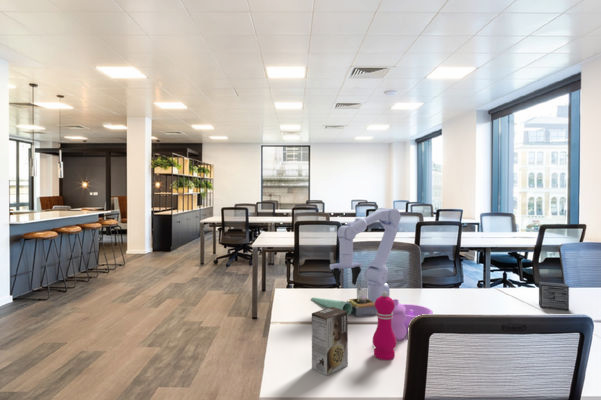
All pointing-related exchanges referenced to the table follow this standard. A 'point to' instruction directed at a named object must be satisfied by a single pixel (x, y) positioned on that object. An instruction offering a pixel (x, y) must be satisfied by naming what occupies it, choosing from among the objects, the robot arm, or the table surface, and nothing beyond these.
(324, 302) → the mint green cylinder
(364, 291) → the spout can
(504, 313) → the table surface
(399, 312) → the container set
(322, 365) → the grey cardboard box
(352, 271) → the robot arm
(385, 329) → the pepper mill
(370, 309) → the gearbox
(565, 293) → the small box
